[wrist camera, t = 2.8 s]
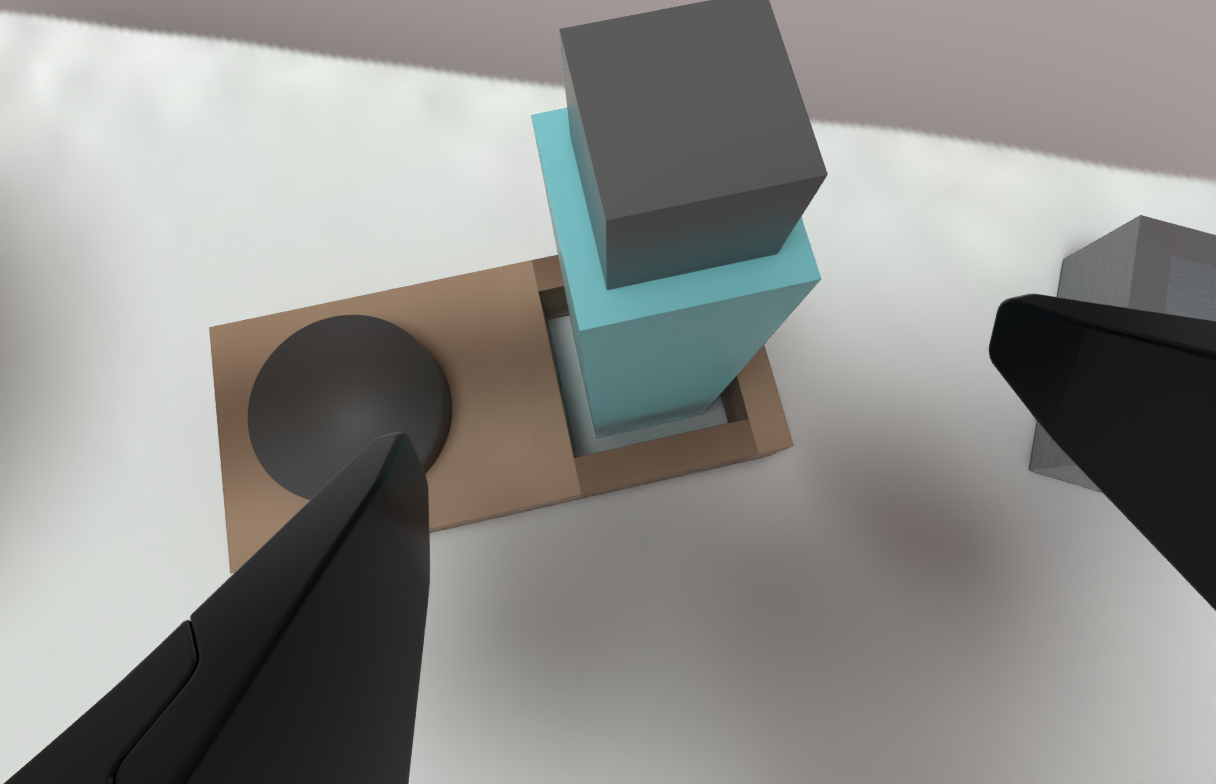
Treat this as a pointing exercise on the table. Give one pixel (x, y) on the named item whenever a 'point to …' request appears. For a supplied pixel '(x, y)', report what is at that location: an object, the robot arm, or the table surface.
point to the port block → (1134, 295)
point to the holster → (438, 404)
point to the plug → (677, 203)
